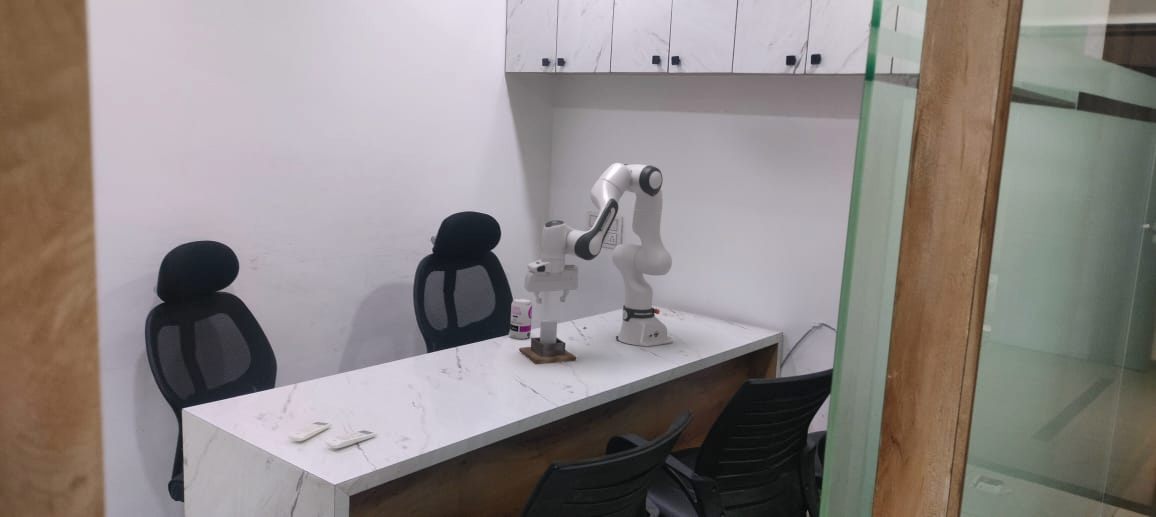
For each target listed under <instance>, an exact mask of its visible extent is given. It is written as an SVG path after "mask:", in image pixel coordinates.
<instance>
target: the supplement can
mask: <svg viewBox="0 0 1156 517" xmlns="http://www.w3.org/2000/svg"><path fill="white" fill-rule="evenodd" d="M510 308H511V309H510V325H509V329H510V330H509V336H511V338H512V337H513V338H512V339H515V338H516V340H526V339H525V338H527V339H529V338H531V334H532V333H531V332H532V319H533V318H532V317H533V315H532V314H533V303H532V301H531V299H528V298H523V297H521V298H514V299H513V300H512V302H511V307H510ZM528 337H529V338H528Z"/></svg>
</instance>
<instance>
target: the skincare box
mask: <svg viewBox="0 0 1156 517" xmlns="http://www.w3.org/2000/svg"><path fill="white" fill-rule="evenodd" d="M557 330H558V321H557V319H543V318H542V319H540V330H539V331H540V332H539V334H540V335H539V337H540V343H542V344H552V343H556V337H557V332H558V331H557Z"/></svg>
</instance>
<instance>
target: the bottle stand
mask: <svg viewBox="0 0 1156 517" xmlns="http://www.w3.org/2000/svg"><path fill="white" fill-rule="evenodd" d="M518 349H519V351H520V352H521V353H520V352H519V353H520V354H522V355H523V356H524V355H525V356H524V357H526V358H527V359H528V358H529V359H528V360H530V361H531V362H532V361H533V362H532V363H533V364H534V365H543V364H556V363H565V362H566V363H567V362H577V356H576V355H574V354H573V353H572V352H570V351H568V350H566V342H564V341H562V339H560V338H559V337H557V336H556V343H552V344H542V343H540V336H539V337H537V336H536V337H530V346H526V347H525V346H524V347H519V348H518Z"/></svg>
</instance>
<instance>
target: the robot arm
mask: <svg viewBox="0 0 1156 517" xmlns="http://www.w3.org/2000/svg"><path fill="white" fill-rule="evenodd" d="M663 180H664V179H663V174H662V172H661V169H659V168H658V167H656V166H654V165H650V164H649V165H647V164H642V163H641V164H640V163H636V164H628V163H622V162H621V163H620V162H615V163H612V164H610V165H609V167H607V168H606V169H605V170H604V172H602V174H601V175H600V176H599V178H598V179H597V180H596V182H595V183H594V184H593V186H592V187H591V190H590V194H589V196H590V200H591V202H592V204H593V205H594V207H595V208H596V209H597V210H598V211H599V213H598V215H597V217H596V219H595V221H594V223H593V225H592V227H591V228H590V229H589V230H587V231H584V230H579V229H575V228H573V227H571V226H569V225H568V224H566V222H565V221H563V220H560V219H559V220H558V219H557V220H550V221H549V220H548V221H547V222H546V223H544V225H543V228H542V234H541V244H540V245H541V255H540V259H538V260H535V261H533V262H531V263H530V262H529V263H528V264H527V272H526V274H525V277H524V290H525V291H526V292H528V293H533V295H534V297H535V298H536V299H535V300H536V301H535V302H536V304H538V305H539V304H543V303H542V301H543V299H542V298H541V297H540V296H539V295H540V293H541V292H542V293H543V292H555V291H557V292H558V291H559V292H560V291H561V292H562V293H563V294H562V295H561V296H559V302H560V303H566V299H567V298H566V297H567V296H568V295H569V293H570V291H575V290H577V289H578V288H579V278H578V275H579V267H578V266H577V265H575V264H566V255H570V256H573V257H577V258H579V259H582V260H585V261H592V260H594V259H595V258H597V256H599V255H600V253H601V251H602V247H603V245H604V244H603V243H604V241H605V239H606V237H607V235H608V233H609V231H610V229H611V228H612V225H613V223H614V221H615V219H616V217H617V214H618V211H619V201H620V200H621V198H622V197H623V195H624V194H625V192H630V193H635V196H636V197H635V202H634V208H633V209H634V210H633V214H632V216H633V217H632V224H631V229H632V232H634V234H635V235H636V236H637V237H639V239H640V242H641V245H639V244H632V243H622V244H618V245H617V246H615V248H614V249H613V251H612V255H611V259H612V263H613V266H615V267H616V269H617V270H618V271H619V273H620V275H621V277H622V281H623V283H624V304H623V308H622V322H621V327H620V331H619V334H618V337H617V340H618V341H619V342H622V343H624V344H628V345H633V346H635V345H636V346H639V347H646V348H647V347H653V346H659V345H667V344H672V343H673V339H672V337H670V336H668V329H667V326H666V325H665V324H664V323H663V321H661V320H660V319H658V318H657V317H656V316H655V315H660V313H661V311H660V309H659V308H654V307H653V295H654V290H653V287H652V285H651V284H650V283H648V282H647V281H646V279H645V277H644V275H648V276H655V277H656V276H666V275H667V274H668V273H669V272H670V270H671V268H672V265H673V258H672V256H671V254H670V252H669V251H668V250H667V249H666V248H665V246H664V244H663V241H662V238H661V223H662V222H661V220H662V213H663V212H662V210H663V191H662V185H663Z"/></svg>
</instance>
